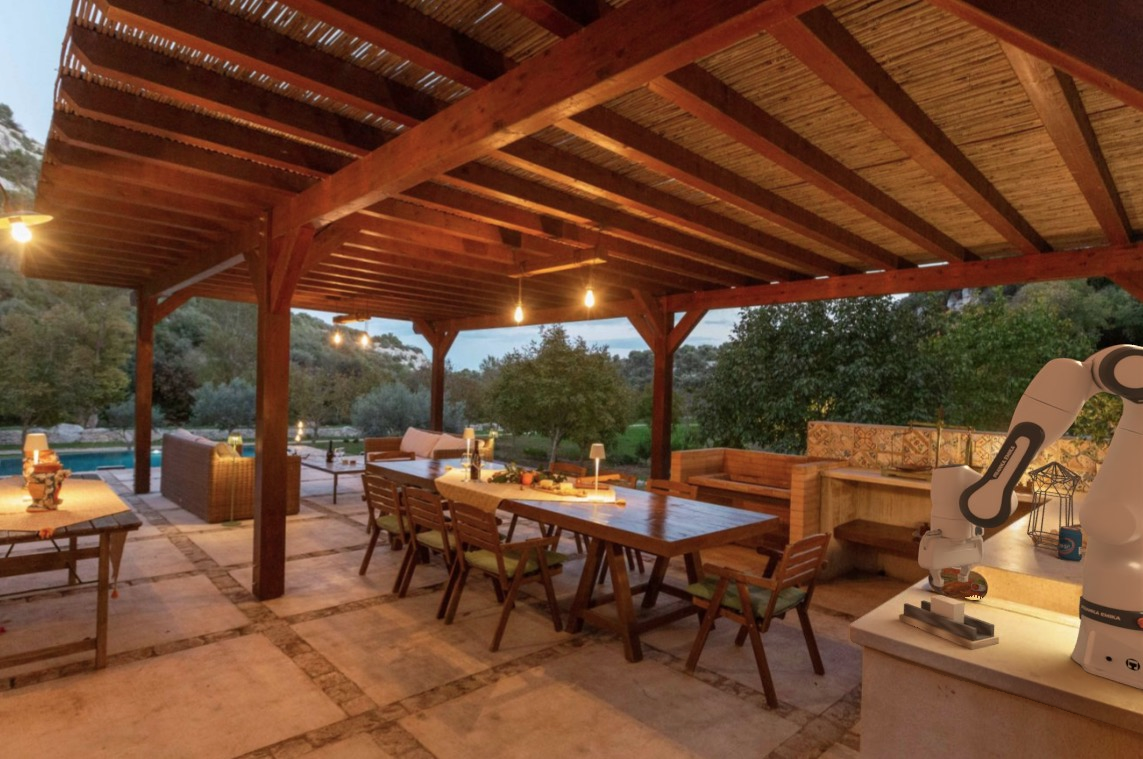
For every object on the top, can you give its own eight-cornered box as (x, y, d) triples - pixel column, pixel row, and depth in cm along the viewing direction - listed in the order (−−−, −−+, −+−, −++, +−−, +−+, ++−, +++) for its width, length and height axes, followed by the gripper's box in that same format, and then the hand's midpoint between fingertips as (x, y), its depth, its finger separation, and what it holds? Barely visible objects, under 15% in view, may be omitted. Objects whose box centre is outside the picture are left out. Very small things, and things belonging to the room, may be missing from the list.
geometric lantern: (1031, 540, 262) (1036, 458, 262) (1078, 550, 250) (1084, 463, 250) (1020, 545, 252) (1026, 459, 252) (1069, 555, 240) (1074, 465, 240)
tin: (927, 591, 188) (928, 563, 188) (929, 589, 190) (930, 561, 190) (987, 604, 178) (988, 574, 178) (988, 601, 180) (989, 572, 180)
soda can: (1053, 558, 234) (1054, 526, 234) (1064, 556, 237) (1065, 525, 237) (1075, 563, 228) (1076, 530, 228) (1085, 561, 231) (1086, 529, 231)
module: (963, 627, 154) (964, 602, 154) (953, 629, 152) (954, 604, 152) (940, 618, 159) (941, 595, 159) (930, 620, 158) (930, 596, 158)
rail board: (998, 643, 149) (999, 625, 149) (972, 649, 145) (973, 630, 145) (924, 615, 166) (924, 599, 166) (899, 620, 162) (899, 603, 162)
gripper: (935, 533, 149) (935, 592, 148) (988, 527, 157) (988, 582, 157) (911, 528, 154) (911, 584, 154) (963, 523, 163) (963, 576, 163)
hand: (950, 583), depth 155 cm, fingers open, 8 cm apart
